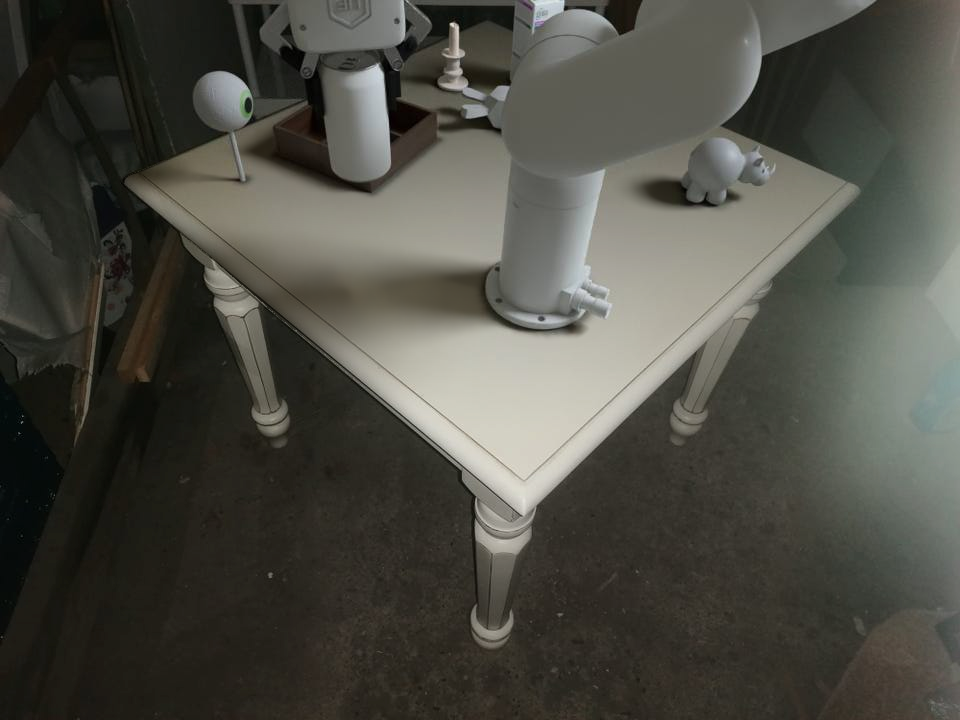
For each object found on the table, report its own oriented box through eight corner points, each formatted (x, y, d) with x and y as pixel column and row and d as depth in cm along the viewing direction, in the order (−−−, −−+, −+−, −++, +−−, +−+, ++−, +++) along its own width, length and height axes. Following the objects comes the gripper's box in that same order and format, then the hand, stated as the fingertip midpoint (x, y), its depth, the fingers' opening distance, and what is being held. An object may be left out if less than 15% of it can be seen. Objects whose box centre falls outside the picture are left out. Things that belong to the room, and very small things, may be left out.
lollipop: (256, 198, 90) (230, 91, 79) (206, 190, 91) (174, 83, 79) (277, 170, 95) (256, 65, 83) (230, 162, 95) (202, 57, 84)
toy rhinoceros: (767, 214, 94) (792, 161, 87) (682, 207, 94) (700, 153, 87) (756, 185, 98) (779, 132, 92) (675, 178, 98) (692, 125, 92)
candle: (472, 81, 115) (475, 18, 108) (461, 94, 112) (463, 30, 104) (444, 74, 116) (445, 12, 109) (432, 87, 113) (432, 23, 105)
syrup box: (525, 95, 113) (535, 4, 102) (508, 79, 116) (515, -10, 105) (553, 88, 115) (566, -1, 104) (535, 73, 118) (546, -15, 107)
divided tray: (437, 139, 102) (437, 112, 99) (371, 192, 92) (369, 164, 89) (348, 107, 107) (346, 80, 104) (277, 154, 97) (272, 126, 94)
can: (397, 155, 75) (391, 46, 66) (382, 188, 70) (374, 76, 61) (341, 148, 75) (327, 39, 66) (323, 180, 71) (306, 68, 62)
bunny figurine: (561, 117, 101) (463, 101, 99) (553, 147, 104) (458, 132, 103) (556, 87, 107) (464, 71, 105) (549, 116, 111) (459, 102, 109)
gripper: (224, -84, 50) (270, 135, 63) (449, -91, 54) (447, 117, 67) (221, -112, 55) (264, 97, 68) (428, -117, 58) (430, 82, 72)
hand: (355, 105), depth 67 cm, fingers closed on can, 6 cm apart
